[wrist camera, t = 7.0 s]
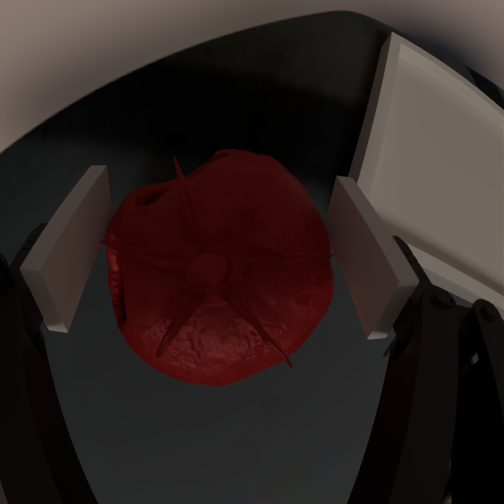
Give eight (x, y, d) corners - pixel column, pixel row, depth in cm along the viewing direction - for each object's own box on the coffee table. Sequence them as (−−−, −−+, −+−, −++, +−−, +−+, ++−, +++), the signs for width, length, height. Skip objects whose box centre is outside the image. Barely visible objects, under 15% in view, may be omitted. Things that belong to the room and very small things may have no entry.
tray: (329, 236, 21) (343, 229, 19) (381, 47, 24) (392, 31, 22) (505, 320, 22) (524, 321, 20) (520, 147, 25) (534, 140, 23)
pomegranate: (336, 245, 18) (438, 210, 9) (242, 394, 17) (273, 488, 8) (192, 150, 18) (181, 42, 9) (93, 296, 16) (-7, 303, 7)
